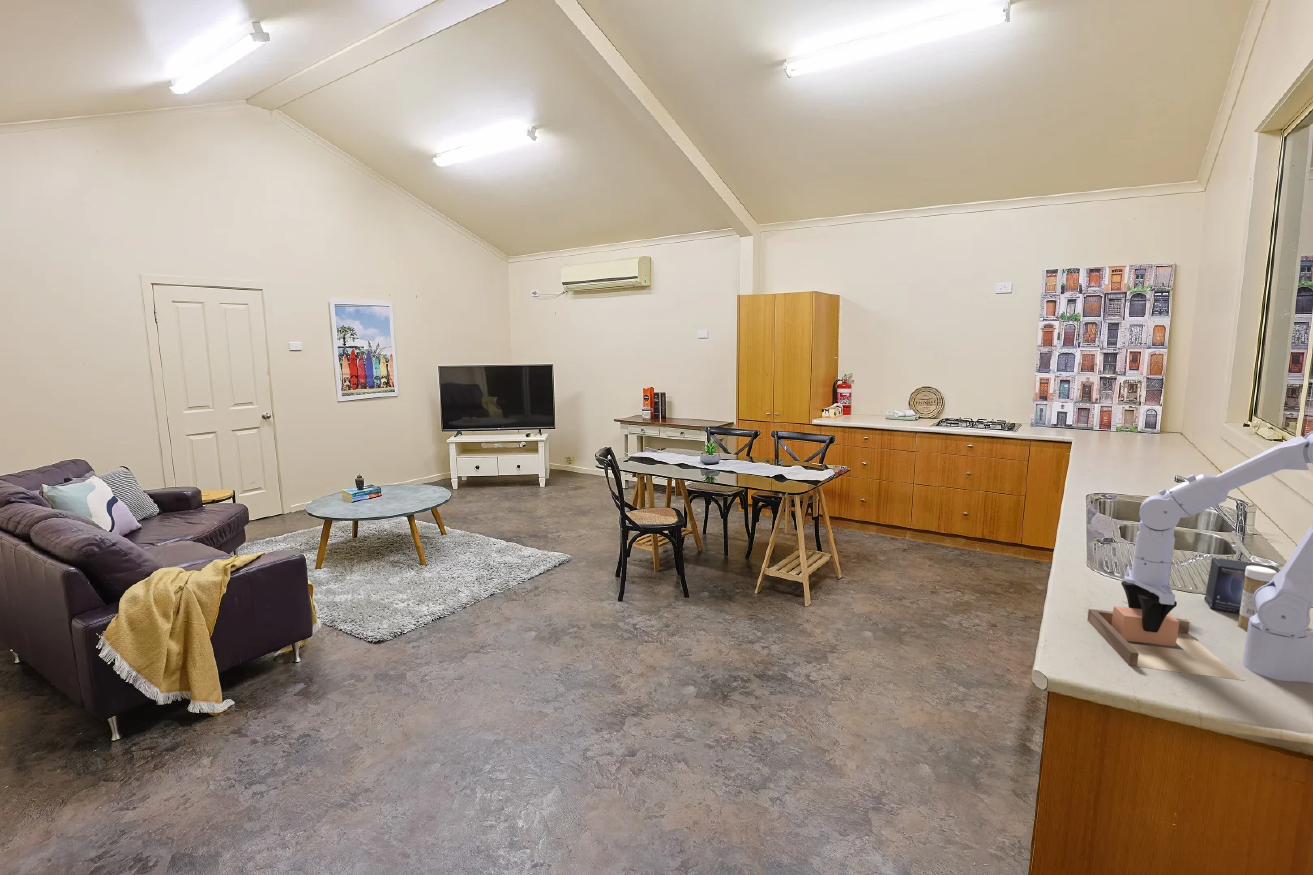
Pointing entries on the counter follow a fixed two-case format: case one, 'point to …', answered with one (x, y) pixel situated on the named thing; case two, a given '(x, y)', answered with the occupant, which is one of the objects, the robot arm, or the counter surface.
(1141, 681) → the counter surface
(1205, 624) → the counter surface
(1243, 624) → the sprinkles bottle
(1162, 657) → the tray
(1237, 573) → the small box
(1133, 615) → the terracotta bar
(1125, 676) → the counter surface
